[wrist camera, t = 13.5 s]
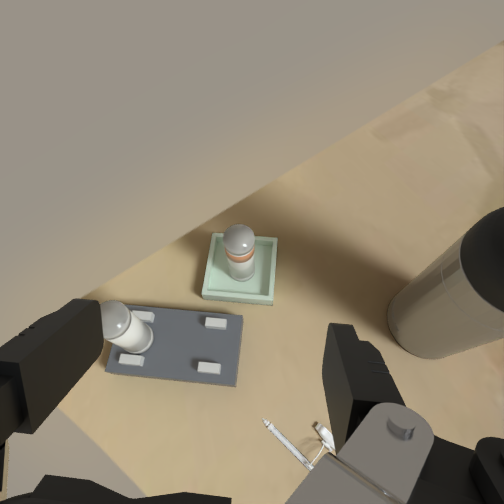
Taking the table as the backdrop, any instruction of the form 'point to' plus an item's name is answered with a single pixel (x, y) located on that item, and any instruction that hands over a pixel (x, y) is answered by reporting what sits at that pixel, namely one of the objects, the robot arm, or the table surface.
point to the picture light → (323, 433)
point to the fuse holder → (184, 347)
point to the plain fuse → (125, 328)
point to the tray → (230, 290)
